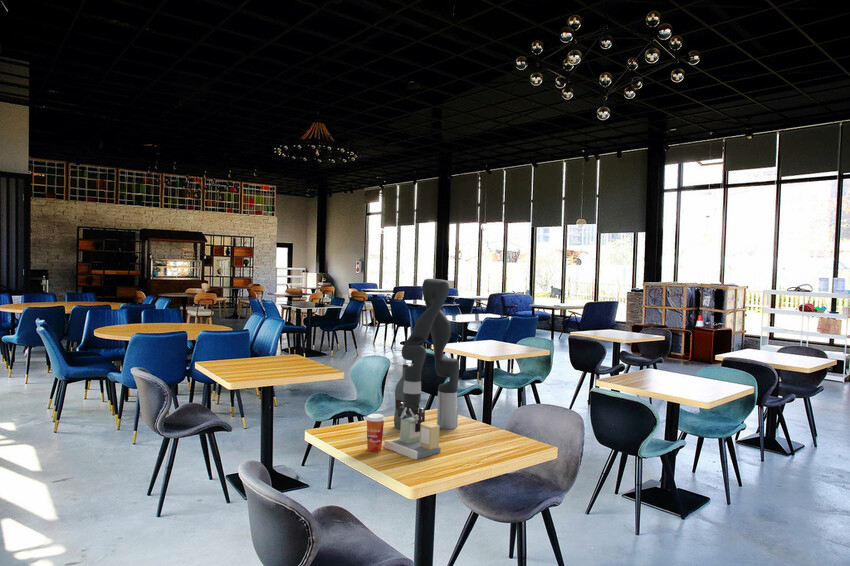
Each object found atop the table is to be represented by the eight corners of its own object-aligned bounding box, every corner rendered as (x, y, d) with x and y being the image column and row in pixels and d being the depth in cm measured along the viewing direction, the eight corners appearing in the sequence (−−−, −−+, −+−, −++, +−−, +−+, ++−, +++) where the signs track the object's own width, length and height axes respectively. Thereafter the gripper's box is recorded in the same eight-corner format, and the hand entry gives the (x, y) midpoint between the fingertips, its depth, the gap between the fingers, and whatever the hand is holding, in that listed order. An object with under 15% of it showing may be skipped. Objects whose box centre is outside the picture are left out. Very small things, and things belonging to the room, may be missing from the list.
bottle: (417, 428, 254) (419, 365, 254) (403, 432, 248) (406, 367, 248) (402, 424, 261) (405, 362, 261) (389, 427, 254) (391, 364, 254)
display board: (408, 441, 234) (409, 434, 234) (440, 452, 220) (440, 445, 220) (384, 447, 224) (384, 440, 224) (415, 459, 210) (415, 451, 210)
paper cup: (361, 451, 218) (362, 416, 218) (369, 446, 225) (371, 412, 225) (379, 454, 215) (380, 419, 215) (387, 448, 222) (388, 414, 222)
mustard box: (428, 444, 224) (429, 422, 224) (438, 447, 220) (439, 425, 220) (419, 446, 221) (420, 424, 221) (429, 450, 216) (430, 427, 216)
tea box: (400, 440, 227) (400, 419, 227) (412, 437, 232) (412, 417, 232) (408, 443, 224) (409, 422, 224) (420, 440, 228) (421, 419, 228)
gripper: (430, 393, 225) (428, 432, 225) (407, 387, 235) (405, 424, 235) (417, 395, 220) (415, 435, 220) (394, 389, 230) (392, 427, 230)
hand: (410, 429), depth 228 cm, fingers open, 8 cm apart
